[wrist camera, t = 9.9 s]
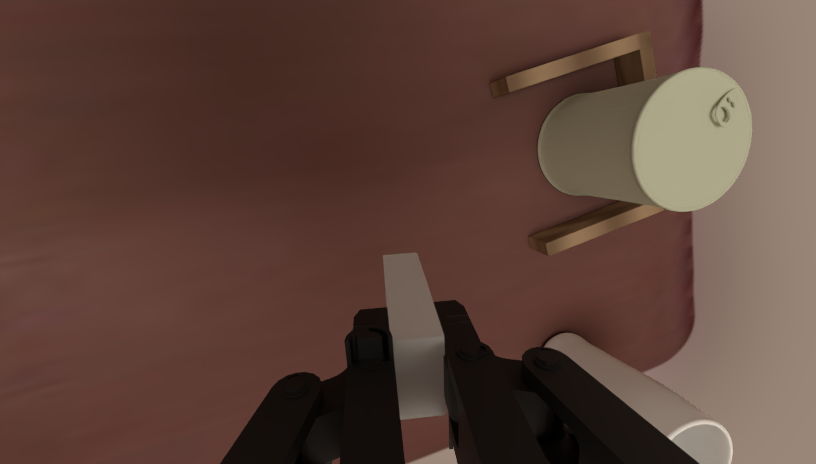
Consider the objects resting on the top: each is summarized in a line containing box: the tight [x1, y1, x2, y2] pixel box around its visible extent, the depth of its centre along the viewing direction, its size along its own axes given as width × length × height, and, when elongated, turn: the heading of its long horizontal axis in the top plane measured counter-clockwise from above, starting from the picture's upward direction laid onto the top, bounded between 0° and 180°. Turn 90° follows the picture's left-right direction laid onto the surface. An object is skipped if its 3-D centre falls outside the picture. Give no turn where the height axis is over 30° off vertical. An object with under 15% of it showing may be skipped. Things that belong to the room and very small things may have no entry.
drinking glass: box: [544, 333, 733, 464], centre depth 33 cm, size 7×7×15 cm
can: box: [537, 67, 752, 212], centre depth 31 cm, size 9×9×12 cm
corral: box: [490, 30, 665, 256], centre depth 35 cm, size 13×15×3 cm
